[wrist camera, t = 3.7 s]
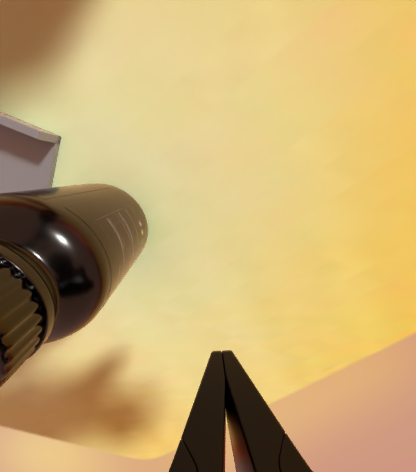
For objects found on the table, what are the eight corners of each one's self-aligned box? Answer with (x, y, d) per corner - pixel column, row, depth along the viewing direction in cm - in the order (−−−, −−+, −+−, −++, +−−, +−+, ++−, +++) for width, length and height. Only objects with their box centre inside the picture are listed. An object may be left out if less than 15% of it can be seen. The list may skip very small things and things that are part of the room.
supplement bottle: (74, 267, 17) (-168, 446, 6) (54, 184, 15) (-368, 216, 4) (155, 263, 18) (70, 430, 6) (145, 181, 16) (-10, 200, 4)
